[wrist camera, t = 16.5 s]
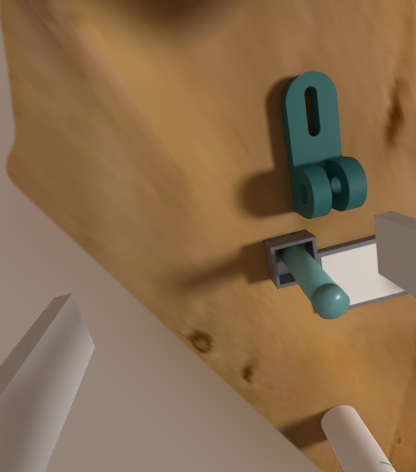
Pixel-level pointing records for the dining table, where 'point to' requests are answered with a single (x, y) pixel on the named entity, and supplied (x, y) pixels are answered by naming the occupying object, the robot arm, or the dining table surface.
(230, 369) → the dining table surface
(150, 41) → the dining table surface
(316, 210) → the bracket
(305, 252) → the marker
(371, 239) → the clipboard
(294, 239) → the pen holder
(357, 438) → the cylindrical container
